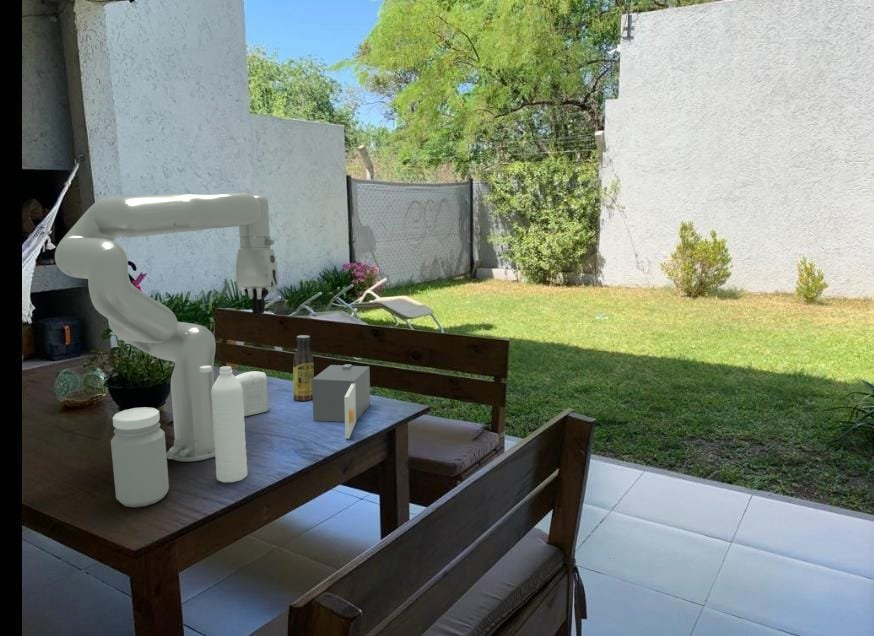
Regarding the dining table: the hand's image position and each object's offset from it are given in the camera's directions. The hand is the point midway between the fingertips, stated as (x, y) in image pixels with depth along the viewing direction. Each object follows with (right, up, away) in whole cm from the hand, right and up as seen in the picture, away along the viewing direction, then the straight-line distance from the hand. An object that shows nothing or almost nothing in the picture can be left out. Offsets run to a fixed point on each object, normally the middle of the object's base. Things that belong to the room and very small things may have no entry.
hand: (258, 313), depth 161 cm
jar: (-13, -38, -36) cm, 54 cm away
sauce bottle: (+6, -27, +30) cm, 40 cm away
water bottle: (+1, -36, -27) cm, 45 cm away
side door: (+25, -31, +1) cm, 40 cm away
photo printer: (-7, -29, +16) cm, 34 cm away
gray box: (+20, -29, +16) cm, 39 cm away
